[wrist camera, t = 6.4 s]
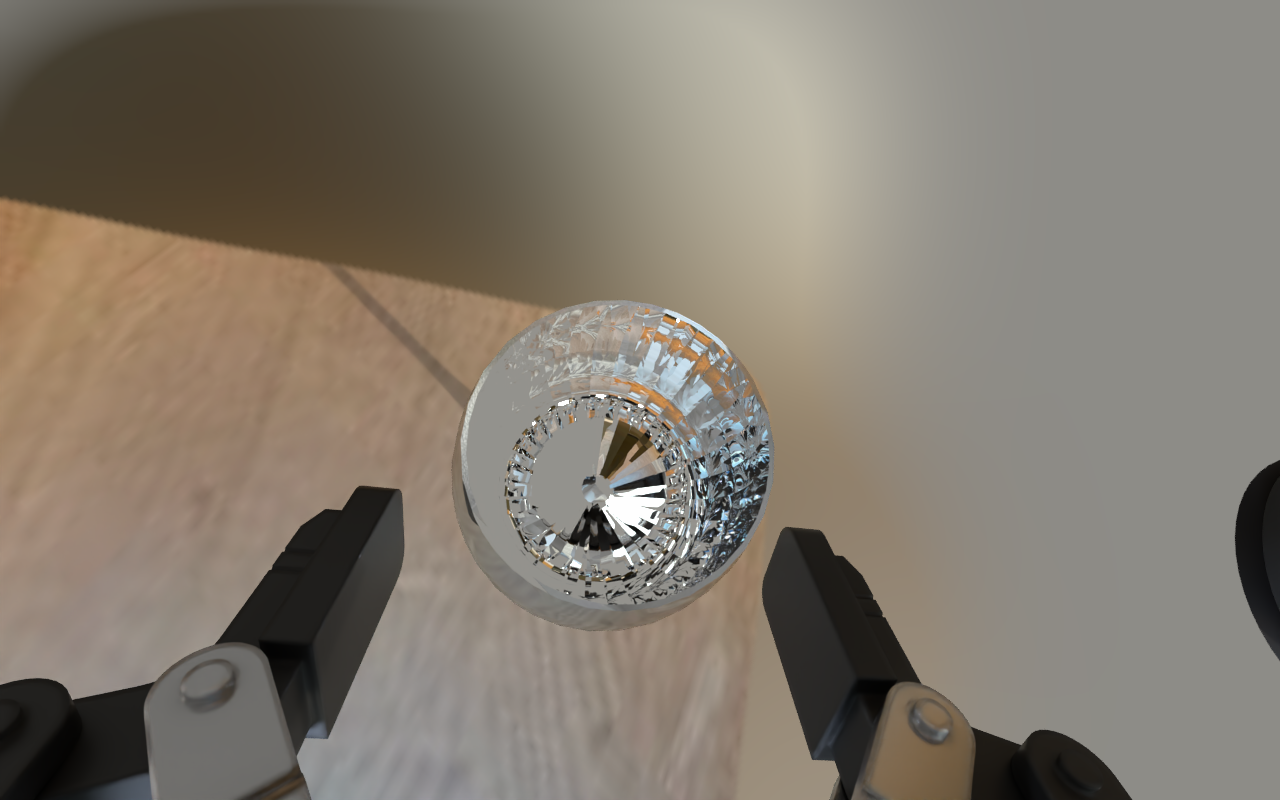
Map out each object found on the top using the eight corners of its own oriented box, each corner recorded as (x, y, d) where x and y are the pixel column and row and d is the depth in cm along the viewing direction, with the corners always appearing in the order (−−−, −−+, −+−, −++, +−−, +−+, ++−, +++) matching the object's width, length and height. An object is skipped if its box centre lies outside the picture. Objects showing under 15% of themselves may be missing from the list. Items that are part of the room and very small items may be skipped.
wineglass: (690, 549, 20) (880, 528, 8) (542, 633, 18) (526, 750, 7) (616, 409, 21) (694, 219, 9) (470, 477, 19) (353, 352, 8)
